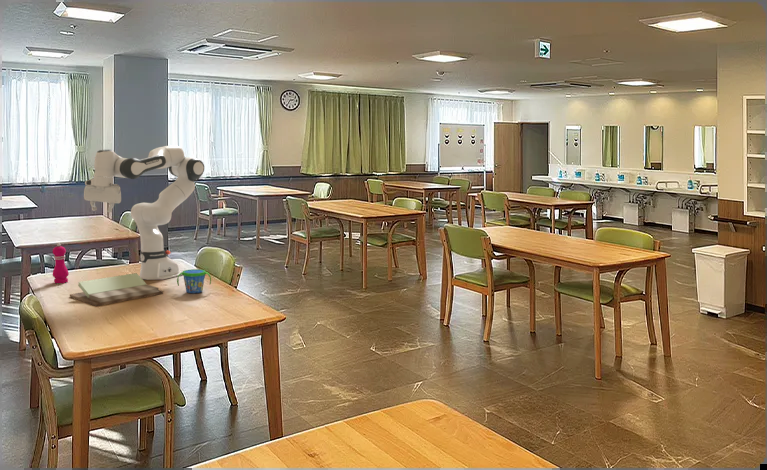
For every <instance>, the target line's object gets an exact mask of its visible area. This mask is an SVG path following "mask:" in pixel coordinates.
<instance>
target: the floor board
mask: <svg viewBox="0 0 767 470" xmlns="http://www.w3.org/2000/svg"><path fill="white" fill-rule="evenodd" d="M162 294H164V293H163V290H160V288H159V287H157V286H154V285H150V284H147V285H142V286H136V287H130V288H124V289H118V290H113V291H107V292H101V293H95V294H89V298H88V297H87V296H86V295H85V293H84V292H83V291H81V292H76V293H70V294H69V297H70V298H71V297H72V298H71V299H74V298H75V300H77V299H78V300H77V301H80V300H81V301H80V302H83V303H85V304H89V305H92V306H95V307H99V306H104V305H109V304H115V303H120V302H126V301H130V300H136V299H142V298H146V297H153V296H158V295H162Z"/></svg>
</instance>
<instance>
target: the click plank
mask: <svg viewBox="0 0 767 470" xmlns="http://www.w3.org/2000/svg"><path fill="white" fill-rule="evenodd" d="M142 285H148V284H147V282H145V280H144V279H141V277H140V274H138V273H137V272H135V273H134V272H133V273H130V274H129V273H128V274H127V273H126V274H123V275H116V276H109V277H103V278H95V279H89V280H83V281H79V282H78V287H79V289H80V290H81V292H84V293H85V295H86V296H87V297H88V298H89V294H95V293H101V292H107V291H113V290H118V289H124V288H130V287H136V286H142Z"/></svg>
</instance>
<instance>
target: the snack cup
mask: <svg viewBox="0 0 767 470" xmlns="http://www.w3.org/2000/svg"><path fill="white" fill-rule="evenodd" d="M181 272H182V273H180V274H179V275H178V276H177V279H176V282H177V283H176V284H177V286H180V283H179V280H180V279H179V277H180V275H181V274H182V275H181V276H183V281H184V282H183V283H184V287H185V291H186V293H187V294H199V293H202V292H203V291H204V284H205V283H204V282H205V279H206V278H205V277H206V275H208V277H209V285H212V284H211V283H212V276H211V274H210V273H209V272H208V271H206V270H205V269H198V268H197V269H185V270H182V271H181Z"/></svg>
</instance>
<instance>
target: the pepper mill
mask: <svg viewBox="0 0 767 470" xmlns="http://www.w3.org/2000/svg"><path fill="white" fill-rule="evenodd" d="M66 253H67V250H66V247H65V246H62V244H61V243H59V242H58V243H56V246H55V247H53V248H52V254H53V255H54V256H53V258H54V262H55V263H54V268H53V270H52V277H53V278H54V279H53V283H54V282H55V283H54V284H56V283H62V284H66V283H65V282H67V283H69V278H68V276H69V270H68V268H67V266H66V263H65V259H66V255H65V254H66Z"/></svg>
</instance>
